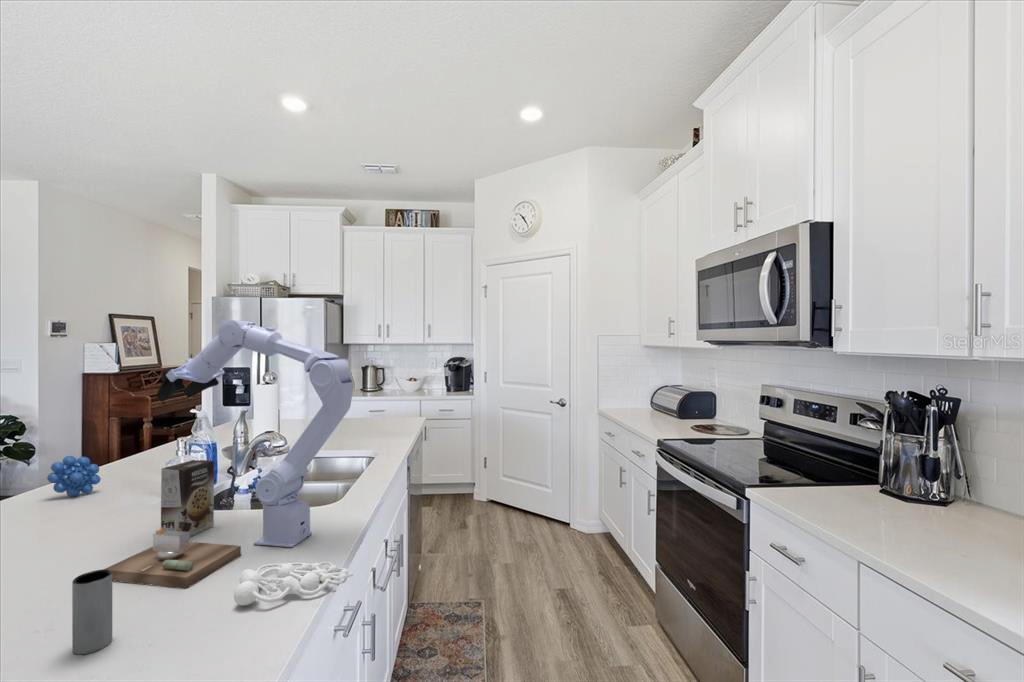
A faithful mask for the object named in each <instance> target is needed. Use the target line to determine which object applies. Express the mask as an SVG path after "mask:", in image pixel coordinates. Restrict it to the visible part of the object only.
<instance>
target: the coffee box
mask: <svg viewBox="0 0 1024 682" xmlns="http://www.w3.org/2000/svg"><path fill="white" fill-rule="evenodd" d="M214 483H215V461H214V460H206V459H203V460H202V459H201V460H199V459H196V460H195V459H192V460H188V461H185V462H181V463H177V464H174V465H170V466H167V467H164V468H163V467H162V468H161V483H160V486H161V487H160V488H161V489H160V492H161V493H160V529H166V530H170V531H183V532H189V538H191V537H194V536H195V535H199V534H200V533H203V532H204V531H207V530H208V529H211V528H213V527H214V524H215V521H214V518H215V516H214V514H215V508H214V507H215V506H214V505H215V503H214V501H215V495H214V493H215V484H214Z"/></svg>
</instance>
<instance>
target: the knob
mask: <svg viewBox="0 0 1024 682" xmlns="http://www.w3.org/2000/svg"><path fill="white" fill-rule="evenodd" d="M189 542H190V537H189V532H183V531H170V530H166V529H161V528H160V529H157V530H156V531H155V533H154V534H152V547H153V551H158V559H159V560H170V559H174V558H178V557H180V556H182V555H183V554H184V553H185V550H186V549H188V548H189Z"/></svg>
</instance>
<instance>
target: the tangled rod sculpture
mask: <svg viewBox="0 0 1024 682" xmlns="http://www.w3.org/2000/svg"><path fill="white" fill-rule="evenodd" d="M322 565H329V568H328V569H326V568H321V566H322ZM295 566H299V567H295ZM265 568H267V569H265ZM261 569H265V570H263V571H261ZM259 571H261V572H260V573H259ZM272 572H278V573H277V574H278V575H277V576H278V577H269V576H266V577H264V576H265V575H267V574H269V573H272ZM300 574H301V575H300ZM353 576H354V573H353V572H350V570H349V569H348V568H344V567H338V566H337V565H336V564H333V563H332V562H330V561H322V562H320V563H319V562H315V563H308V562H297V561H296V562H289V563H270V564H267V563H266V564H264V565H260V566H258V568H257V569H256V570H253V569H251V568H249V569H248V568H247V569H245V570H244V569H243V571H241V574H240V577H239V584H238V585H237V586H236V588H235V589H234V592H233V600H234V602H235V603H236V604H237V605H238V606H241V607H242V606H249V605H251V604H252V603H253V602H254V601H255V600H256V599H257V600H259V601H261V602H264V603H276V602H279V601H280V600H283V598H285V596H287V594H295V595H299V594H301V595H305V596H315V595H317V594H318V593H320V592H321V591H323V590H324V588H326V587H327V586H329V583H330V584H333V585H340V584H343V583H345V582H347V580H348V578H350V577H353ZM299 580H300V581H299ZM320 582H322V584H320ZM271 583H274V584H275V585H276V586H275V585H273V584H271ZM319 584H320V585H319ZM263 585H266V586H268V587H270V588H271V589H272V591H273V592H276V591H278V586H277V585H279V590H280V591H281V592H282V593H280V594H279V595H278V596H274V597H267V596H270V595H271V594H272V592H271V591H270V590H268V589H267V588H266V587H264V586H263ZM260 589H262V590H263V591H264V592H265V594H266V596H264V595H261V594H260V593H259V590H260Z"/></svg>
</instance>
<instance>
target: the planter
mask: <svg viewBox="0 0 1024 682" xmlns="http://www.w3.org/2000/svg"><path fill="white" fill-rule="evenodd" d="M71 583H72V585H71V586H72V591H71V593H72V594H71V596H72V601H71V602H72V603H71V604H72V605H71V606H72V607H71V610H72V611H71V614H72V619H71V620H72V625H71V627H72V629H71V630H72V632H71V633H72V635H71V638H72V641H71V642H72V645H71V646H72V652H73V654H75V655H86V654H91V653H94V652H97V651H100V650H102V649H104V648H105V647H107V646H108V645H109V644H110V643H111V642H112V641H113V581H112V571H111V570H103V569H96V570H92V571H88V572H85V573H82V574H79V575H78V576H77V577H75V578H74V579H73V580H72V582H71Z"/></svg>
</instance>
